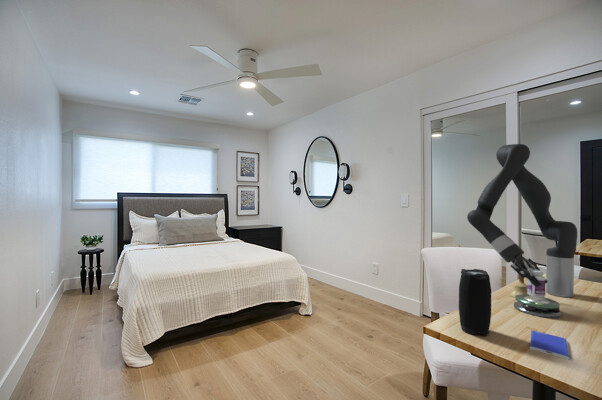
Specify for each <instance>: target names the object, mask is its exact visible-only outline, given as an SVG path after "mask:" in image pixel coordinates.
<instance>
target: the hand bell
mask: <svg viewBox="0 0 602 400" xmlns="http://www.w3.org/2000/svg"><path fill="white" fill-rule="evenodd" d="M518 276H519V279H518V281H519V282H517V283H515V284H514V285H515V286H514V289H513V291H512V292H510V294H509V297H512V298H514V299H516V295H520V294H526V295H529V294H528V293H527V284H526V283H525V278H523V277H522V276H520V275H519V274H518Z"/></svg>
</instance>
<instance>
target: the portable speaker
mask: <svg viewBox="0 0 602 400" xmlns="http://www.w3.org/2000/svg"><path fill="white" fill-rule="evenodd" d="M490 278H491V277H490V275H489V273H488V271H486V270H483V269H479V268H474V269H465V268H461V271H460V278H459V279H460V280H459V286H458V315H459V323H460V327H461V328H460V329H461V330H462V331H463V332H465V333H466V334H468V335H471V336H473V335H475V334H483V336H485V337H486V336H488V335H489V334H490V333H489V332H490V326H491V322H492V321H491V319H492V286H491V279H490Z"/></svg>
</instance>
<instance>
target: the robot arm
mask: <svg viewBox="0 0 602 400" xmlns="http://www.w3.org/2000/svg"><path fill="white" fill-rule="evenodd" d="M530 155H531V149H530V147H528V146H527V145H526V144H523V143H515V144H514V143H513V144H506V145H502V146H500V147H499V148H498V149H497V150H496V155H495V156H496V159H497V161H498V163H499V165H500V166H501V167H502V169H501V170H500V171H499V172H498V173H497V175H495V177H493V178H492V180H490V181H489V182H488V183H487V184H486V186H485V187H484V189H483V191H482V192H481V194H480V195H479V198H478V200H477V206H476V209H473V210H470V211H469V212H468V214H467V217H466V218H467V222H469V224H470V225H471V226H472V227H473V228H474V229H475V230H477V232H478V233H480V234H481V236H482V237H483V238H484V239H485V240H486V241H487V242H488V243H489V244H490V245H491V246H492V248H493V250H495V252H497V254H498V255H499V256H500V257H501V259H503V260H504V261H505V262H506V263H508V264H509V263H511V264H510V267H511V268H512V269H513V270H514V271H515V272H516V273H517V274H518V276H519V275H520V276H522V277H523V278H524V279H529V281H530V282H531V283H532V284H533V285H534V286H535V287H538V286H540V285H542V284H541V283H540V282H539V281H538V279H537V278H536V277H535V276H533V274H532V273H531V272H530V270H540V271H542V270H541V269H540V268H539V267H538V266H537V264H536V263H535V262H534V261H533V260H532V259H531V258H525V256H523V255H524V254H525V251H524V250H523V249H522V248H521V247H520V246H519V245H518V244H517V243H516V242H515V241H514V240H513V239H512V238H511V237H509V236H508V235H507V234H506V233H505V232H504V231H503V230H502V229H501V228H500V227H499V226H497V225H496V224H495V223H494V222H493V220H491V217H492V215H493V212H494V209H495V207H496V206H497V204H498V202H499V200H500V198H501V197H502V195H503V193H504V191H505V190H506V189H507V187H508V186H509V184H510V183H511V182H513V184H514V185H515V187H516V188H517V190H518V192H519V194H520V196H521V197H522V199H523V200H524V202H525V203H526V205H527V207H528V209H529V210H530V211H531V214H532V215H533V217H534V219H535V221H536V223H537V225H538V228H539V230H540V232H541V234H542V235H543V237H544V238H545V239H546V240H548V241H554V242H555V241H556V242H557V245H556V246H554V247H550V248H547V249H546V260H545V261H546V263H545V264H546V265H545V266H546V269H545V270H546V272H545V274H546V275H545V280H546V281H545V293H547V294H549V295H553V296H556V297H562V298H574V295H575V293H574V291H575V290H574V288H575V253H576V251H577V244H578V243H577V242H578V228H577V226H576V224H575V223H574V222H571V221H565V220H564V221H562V220H556V219H554V218H553V217H552V215H551V212H550V206H551V201H552V196H551V193H550V192H549V190H548V188H547V186H546V185H545V184H544V182H542V180H541V179H540V178H539V177H537V176H536V175H534V174H533V173H532V172H530V171H529V169H527V168H526V167H525V166H524V165H525V164H526V163H527V161H528V160H529V158H530V157H531V156H530Z"/></svg>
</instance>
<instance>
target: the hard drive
mask: <svg viewBox="0 0 602 400" xmlns="http://www.w3.org/2000/svg"><path fill="white" fill-rule="evenodd" d="M529 341H530V343H529V345H530V346H529V349H530V350H532V351H537V352H541V353H544V354H547V355H551V356H556V357H558V356H559V358H562V359H567V360H570V354H569V348H568V343H567V339H566V338H565V337H561V336H558V335H553V334H550V333H545V332H541V331H538V330H537V331H536V330H531V332H530V340H529Z"/></svg>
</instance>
